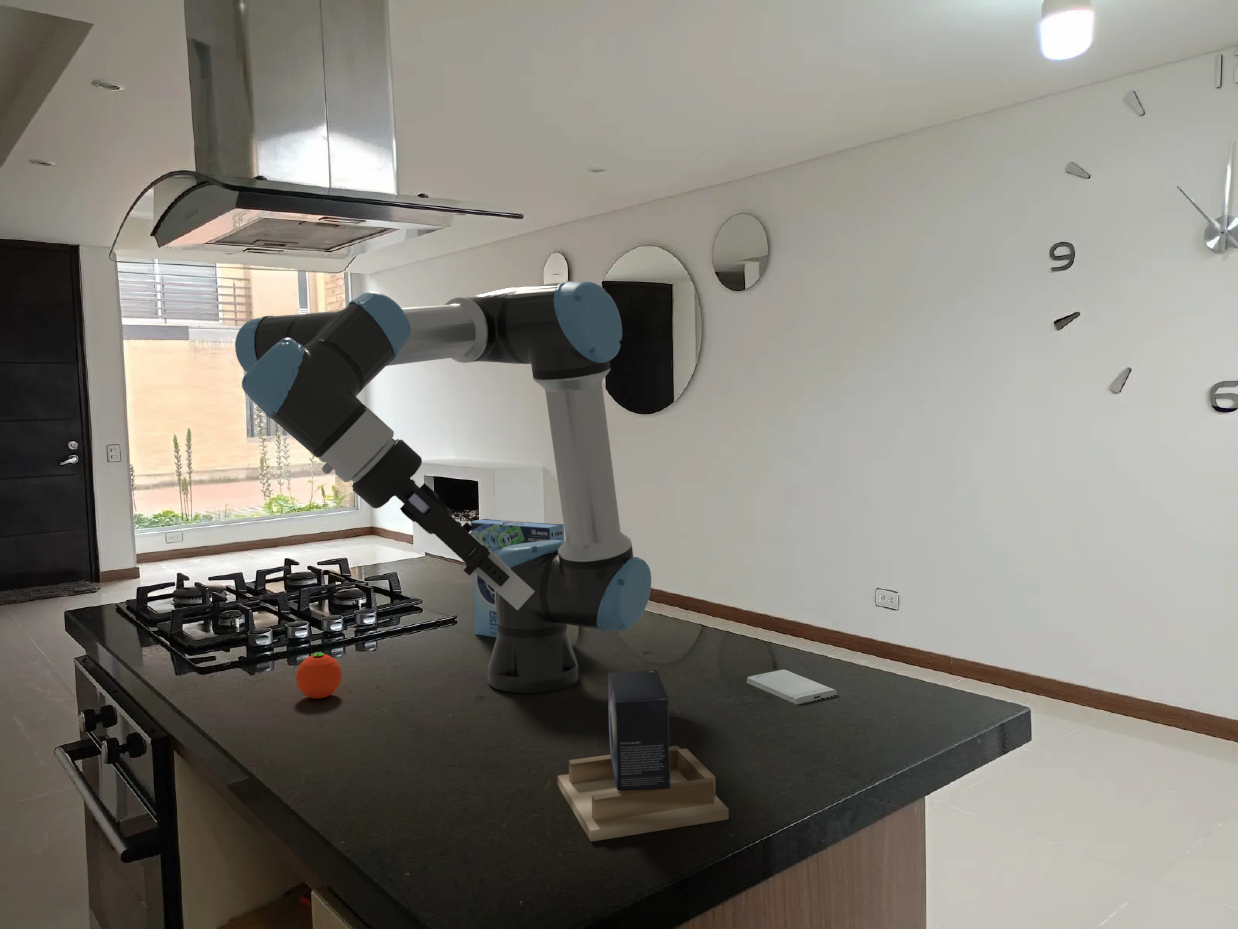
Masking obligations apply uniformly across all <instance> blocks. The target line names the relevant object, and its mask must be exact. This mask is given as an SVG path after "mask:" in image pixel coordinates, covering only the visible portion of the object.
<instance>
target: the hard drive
mask: <svg viewBox="0 0 1238 929" xmlns="http://www.w3.org/2000/svg"><path fill="white" fill-rule="evenodd" d="M746 684H749V685H751V686H753V687H755V688H757V689H760V690H762V691H764V692H767V693H768V694H771V695H774V696H776V697H779V698H780V699H783V700H786V701H787V700H788V701H787V702H790V703H792V702H793V703H792V704H794V705H801V704H806V703H811V702H815V701H818V699H819V700H822V699H821V698H824V699H828V698H831V696H832V697H835V696H834V695H837V696H838V691H837V689H834V688H832V687H828V686H826V685H824V684H822V683H820V682H816V681H814V680H812V679H810V678H806V677H804V676H801V675H798V674H796V673H794V672H791V671H789V670H787V669H778V670H774V671H770V672H764V673H758V674H755V675H751V676H747V678H746ZM827 697H828V698H827ZM814 700H815V701H814ZM805 702H806V703H805Z"/></svg>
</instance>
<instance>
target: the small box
mask: <svg viewBox="0 0 1238 929" xmlns="http://www.w3.org/2000/svg"><path fill="white" fill-rule="evenodd" d="M607 678H608V679H607V682H608V683H607V694H608V695H607V696H608V697H607V699H608V700H607V701H608V702H607V703H608V704H607V706H608V707H607V708H608V713H607V714H608V738H609V739H608V741H609V753H610V754H609V755H611V760H612V766H613V771H614V777H615V782H616V787H617V790H618V791H625V790H645V789H662V788H671V778H670V753H669V747H670V731H669V730H670V728H669V726H670V723H669V721H670V720H669V719H670V717H669V716H670V715H669V713H670V712H669V711H670V697H669V696H668V693H667V690H666V688H665V686H664V683H663V681H662V679H661V677H660V674H659V671H658V669H653V670H652V669H651V670H635V671H634V670H633V671H621V672H617V671H616V672H608V674H607Z"/></svg>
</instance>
